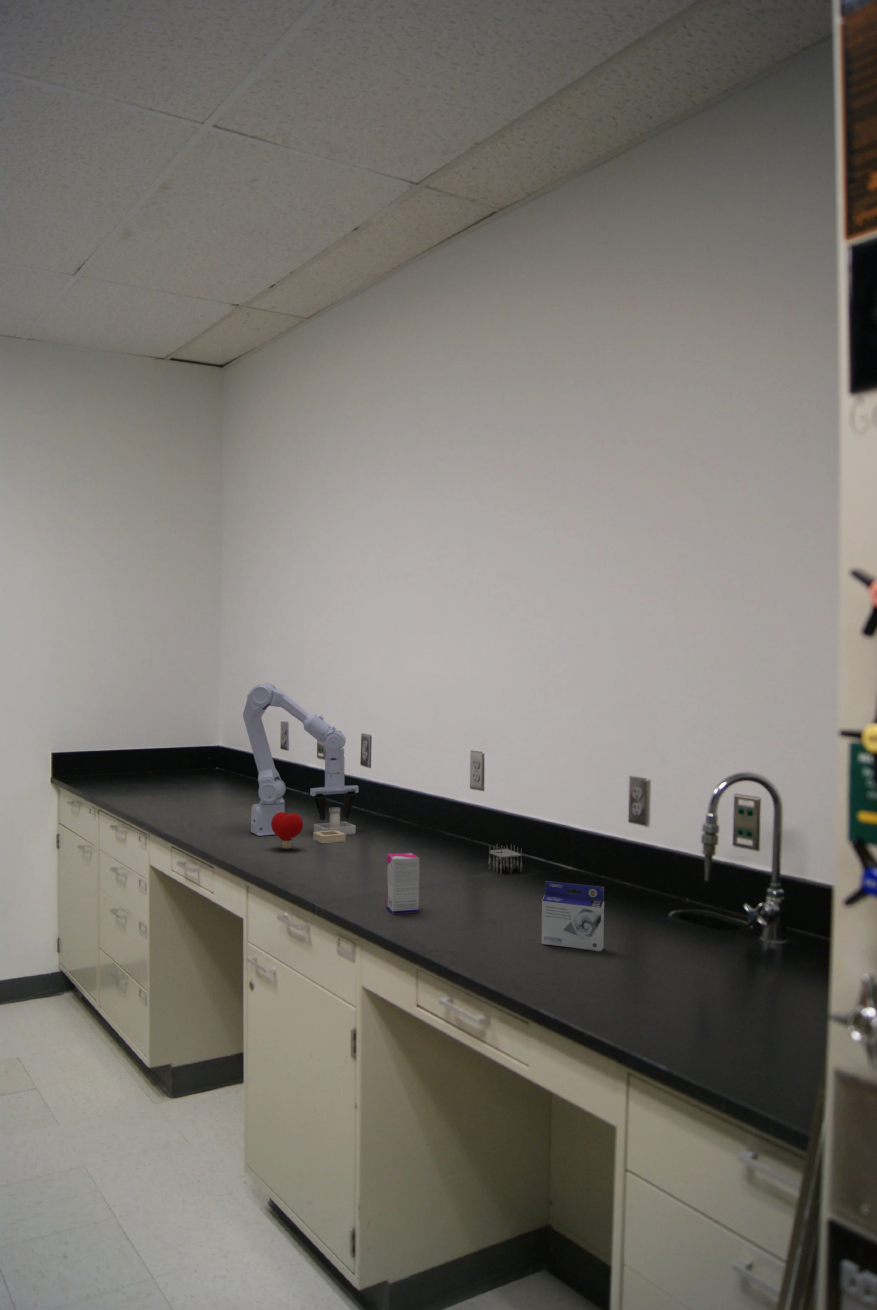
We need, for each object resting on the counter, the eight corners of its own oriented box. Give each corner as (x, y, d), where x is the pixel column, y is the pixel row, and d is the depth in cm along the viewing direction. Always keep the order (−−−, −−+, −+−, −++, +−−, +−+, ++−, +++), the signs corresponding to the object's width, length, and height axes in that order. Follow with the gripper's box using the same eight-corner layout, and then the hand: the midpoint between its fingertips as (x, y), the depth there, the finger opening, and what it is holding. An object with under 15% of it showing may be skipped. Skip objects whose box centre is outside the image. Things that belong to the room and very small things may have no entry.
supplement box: (419, 912, 202) (420, 857, 202) (392, 914, 201) (392, 859, 201) (412, 905, 208) (412, 851, 208) (385, 907, 206) (385, 853, 206)
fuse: (331, 833, 284) (331, 809, 284) (327, 831, 287) (327, 807, 287) (342, 832, 285) (342, 808, 285) (338, 830, 288) (338, 806, 288)
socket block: (322, 843, 272) (322, 836, 272) (313, 839, 278) (313, 832, 278) (345, 841, 275) (345, 834, 275) (336, 836, 281) (336, 829, 281)
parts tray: (323, 837, 281) (323, 828, 281) (313, 832, 288) (313, 824, 288) (355, 834, 285) (355, 825, 285) (345, 829, 292) (345, 821, 292)
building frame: (500, 875, 236) (500, 850, 236) (485, 868, 243) (485, 844, 243) (522, 872, 238) (522, 848, 238) (507, 865, 246) (507, 842, 245)
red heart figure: (308, 848, 265) (308, 812, 265) (294, 853, 258) (294, 816, 258) (280, 845, 269) (280, 809, 268) (265, 850, 262) (265, 813, 262)
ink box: (540, 945, 180) (540, 883, 180) (543, 941, 183) (544, 880, 183) (602, 952, 176) (602, 889, 176) (604, 948, 179) (605, 886, 178)
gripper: (316, 775, 279) (316, 822, 280) (362, 772, 286) (362, 818, 286) (307, 772, 286) (307, 818, 286) (353, 769, 292) (353, 814, 293)
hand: (334, 818), depth 286 cm, fingers open, 7 cm apart
